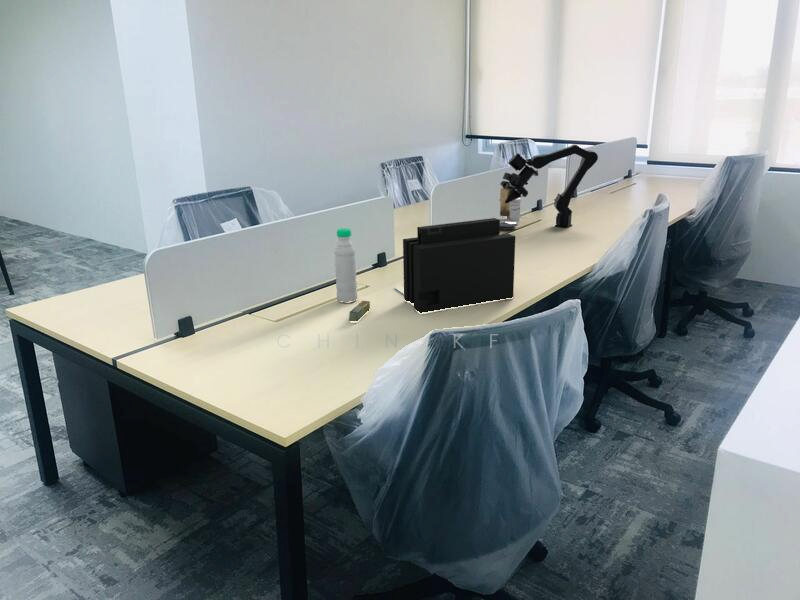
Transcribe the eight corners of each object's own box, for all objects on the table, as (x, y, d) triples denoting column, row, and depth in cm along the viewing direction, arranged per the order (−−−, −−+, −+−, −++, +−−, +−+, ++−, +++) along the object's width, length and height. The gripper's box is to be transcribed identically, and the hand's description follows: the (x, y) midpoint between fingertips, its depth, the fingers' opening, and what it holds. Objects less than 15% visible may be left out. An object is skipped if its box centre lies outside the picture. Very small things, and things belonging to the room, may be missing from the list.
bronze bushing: (512, 215, 326) (513, 188, 322) (504, 216, 324) (505, 189, 319) (505, 213, 330) (505, 187, 326) (497, 215, 328) (498, 188, 323)
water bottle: (337, 297, 233) (333, 227, 225) (357, 296, 233) (354, 226, 225) (336, 304, 226) (333, 232, 218) (357, 303, 227) (354, 231, 219)
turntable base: (518, 227, 331) (518, 224, 330) (507, 231, 324) (507, 228, 323) (501, 225, 337) (501, 222, 336) (490, 228, 330) (490, 225, 329)
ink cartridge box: (503, 221, 345) (503, 193, 340) (502, 219, 349) (503, 191, 345) (519, 221, 344) (521, 193, 339) (519, 219, 349) (520, 191, 344)
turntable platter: (522, 223, 330) (523, 221, 330) (508, 228, 321) (508, 225, 321) (500, 220, 338) (500, 217, 338) (486, 225, 329) (486, 222, 329)
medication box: (357, 324, 208) (356, 312, 207) (348, 323, 209) (348, 311, 208) (370, 312, 219) (369, 300, 218) (362, 311, 220) (362, 299, 219)
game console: (420, 315, 215) (419, 233, 206) (384, 289, 241) (382, 216, 232) (513, 299, 228) (515, 222, 219) (469, 276, 254) (470, 206, 246)
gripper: (504, 164, 329) (483, 188, 329) (523, 168, 312) (501, 194, 312) (517, 178, 334) (497, 202, 334) (537, 184, 317) (516, 209, 317)
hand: (502, 202), depth 324 cm, fingers closed on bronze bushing, 5 cm apart
